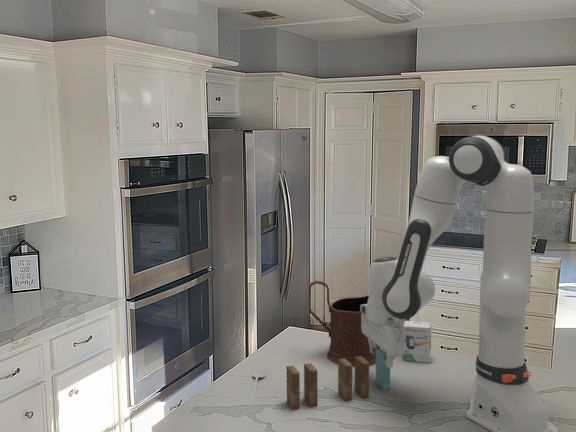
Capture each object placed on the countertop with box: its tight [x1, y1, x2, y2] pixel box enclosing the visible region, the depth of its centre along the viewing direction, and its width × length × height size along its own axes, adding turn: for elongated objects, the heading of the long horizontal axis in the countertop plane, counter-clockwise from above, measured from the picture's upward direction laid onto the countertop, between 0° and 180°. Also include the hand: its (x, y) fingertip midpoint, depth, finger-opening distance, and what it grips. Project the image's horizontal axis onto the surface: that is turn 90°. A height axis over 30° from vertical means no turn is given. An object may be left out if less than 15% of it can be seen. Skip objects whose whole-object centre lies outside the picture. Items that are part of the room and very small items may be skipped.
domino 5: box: [375, 348, 391, 391], centre depth 165 cm, size 2×5×10 cm, turn 17°
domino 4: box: [354, 356, 370, 399], centre depth 160 cm, size 2×5×10 cm, turn 18°
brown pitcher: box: [308, 280, 381, 368], centre depth 187 cm, size 18×24×25 cm
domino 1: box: [286, 365, 301, 410], centre depth 154 cm, size 2×5×10 cm, turn 18°
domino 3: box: [337, 358, 353, 402], centre depth 159 cm, size 2×5×10 cm, turn 17°
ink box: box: [402, 320, 432, 364], centre depth 184 cm, size 9×5×12 cm, turn 73°
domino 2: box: [303, 362, 319, 408], centre depth 156 cm, size 2×5×10 cm, turn 17°
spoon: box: [248, 367, 267, 400], centre depth 167 cm, size 4×21×2 cm, turn 173°
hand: (380, 359), depth 165 cm, fingers open, 8 cm apart
